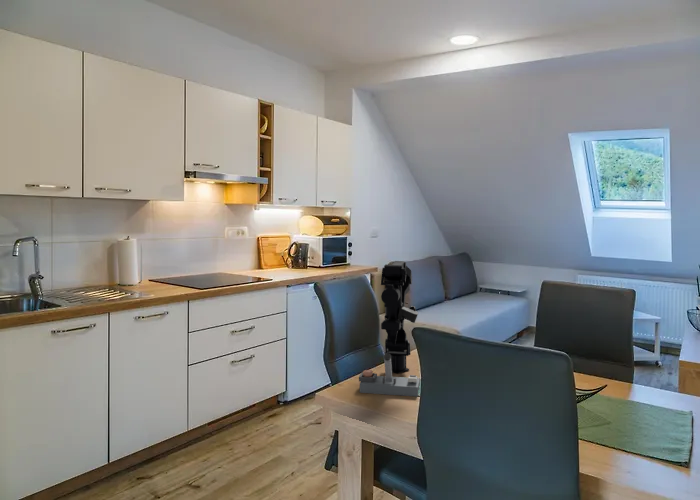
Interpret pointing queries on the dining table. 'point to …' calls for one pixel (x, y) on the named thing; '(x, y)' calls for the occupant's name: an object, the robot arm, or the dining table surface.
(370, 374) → the push button
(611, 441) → the dining table surface
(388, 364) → the toggle lever
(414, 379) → the rocker switch
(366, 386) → the panel
